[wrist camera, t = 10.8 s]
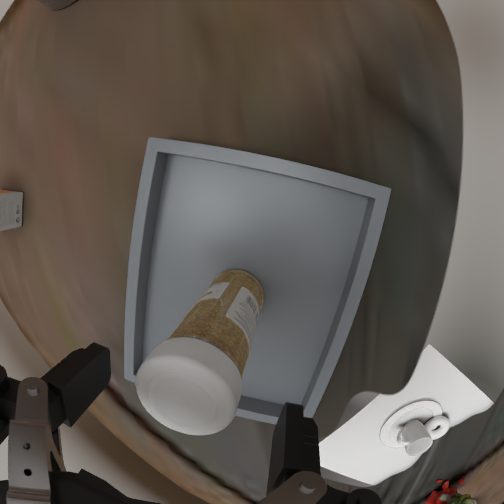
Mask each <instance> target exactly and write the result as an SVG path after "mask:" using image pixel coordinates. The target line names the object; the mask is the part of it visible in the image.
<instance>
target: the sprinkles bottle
mask: <svg viewBox="0 0 504 504" xmlns="http://www.w3.org/2000/svg"><path fill="white" fill-rule="evenodd" d="M263 303H264V293H263V289H262V287H261V284H260V283H259V281H258V280H257V279H256V278H255V277H254V276H253V275H251V274H249V273H248V272H245V271H243V270H237V269H234V270H228V271H224V272H222V273H220V274H219V275H218V276H216V277H215V279H214V280H213V281H212V283H211V284H210V287H209V288H208V289H207V290H206V291H205V292H204V293H203V294H202V296H201V297H200V298H199V299H198V301H197V302H196V303H195V305H194V306H193V307H192V308H191V310H190V311H189V312H188V313H187V314H186V316H185V317H184V318H183V320H182V321H181V323H180V325H179V326H178V327H177V328H176V330H175V331H174V332H173V333H172V335H171V336H170V337H169V338H168V339H167V340H166V341H164V342H162V343H160V344H159V345H158V346H156V347H155V348H154V350H153V351H152V352H151V353H150V354H149V355H148V357H147V358H146V359H145V361H144V362H143V363H142V365H141V366H140V368H139V369H138V372H137V375H136V380H135V384H136V391H137V394H138V397H139V399H140V401H141V403H142V405H143V406H144V407H145V409H146V410H147V411H148V412H149V413H150V414H151V415H152V416H153V417H154V418H155V419H156V420H157V421H159V422H160V423H162V424H163V425H165V426H167V427H169V428H171V429H173V430H175V431H178V432H181V433H185V434H190V435H209V434H213V433H216V432H218V431H221V430H223V429H224V428H225V427H227V426H228V425H229V424H230V422H231V421H232V420H233V418H234V416H235V413H236V410H237V407H238V404H239V401H240V397H241V393H242V375H243V372H244V368H245V365H246V363H247V360H248V358H249V355H250V351H251V347H252V343H253V339H254V335H255V331H256V327H257V323H258V319H259V312H260V311H261V309H262V306H263Z"/></svg>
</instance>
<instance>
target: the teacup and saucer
mask: <svg viewBox="0 0 504 504" xmlns="http://www.w3.org/2000/svg"><path fill="white" fill-rule="evenodd" d="M450 427H451V421H450V419H449V418H448V417H447V416H445V415H443V408H442V406H441V405H440V404H439V403H438V402H436V401H434V400H429V399H425V400H419V401H415V402H412V403H410V404H407V405H405V406H403V407H402V408H400V409H399V410H397V411H396V412H394V413H393V414H392V415H391V416H390V417H389V418H388V419H387V420H386V421H385V422H384V424H383V425H382V427H381V429H380V432H379V439H380V441H381V443H382V444H383V445H384V446H386V447H388V448H391V449H403V448H404V449H405V452H406V454H407V455H408V456H409V457H416V456H419V455H421V454H422V453H423V452H425V451H426V450H427V449H429V448H430V446H431V445H432V442H433V440H434V439H437V438H440V437H441V436H443V435H444V434H445V433H446V432H447V431H448V429H449V428H450Z"/></svg>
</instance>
